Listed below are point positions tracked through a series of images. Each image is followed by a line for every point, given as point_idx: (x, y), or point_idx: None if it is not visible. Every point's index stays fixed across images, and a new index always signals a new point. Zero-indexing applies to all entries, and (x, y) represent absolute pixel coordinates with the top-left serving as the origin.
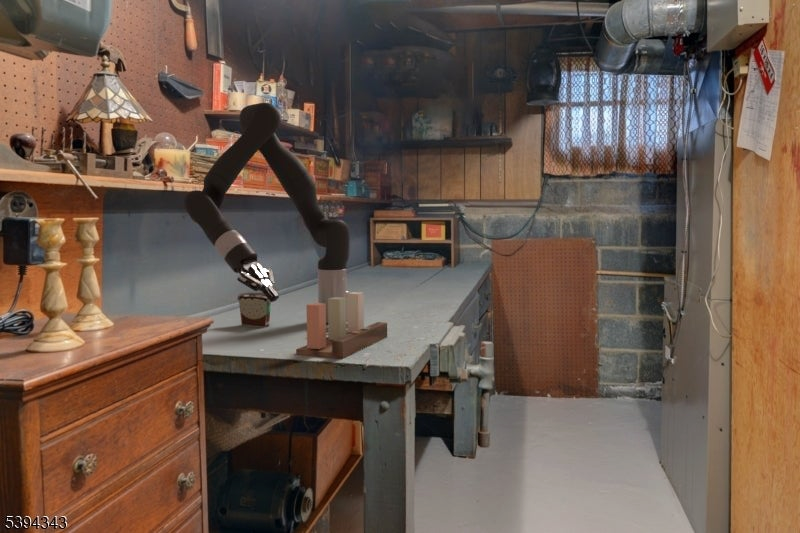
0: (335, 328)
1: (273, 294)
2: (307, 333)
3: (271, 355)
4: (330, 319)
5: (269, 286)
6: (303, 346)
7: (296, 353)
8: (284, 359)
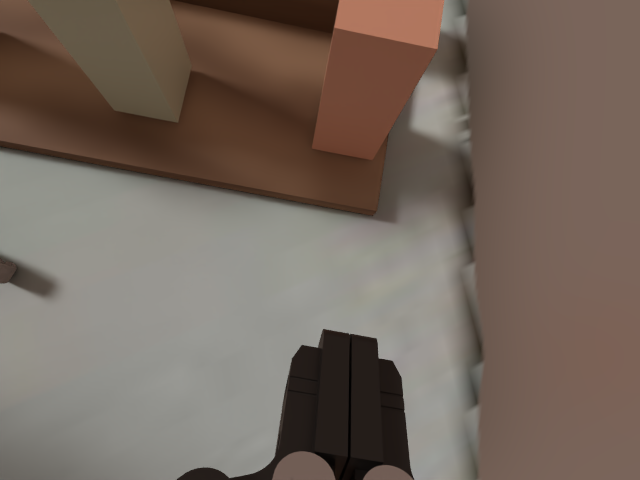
0: (173, 56)
1: (375, 367)
2: (388, 131)
3: (420, 310)
4: (155, 57)
5: (348, 454)
6: (318, 198)
7: (373, 214)
8: (467, 228)
